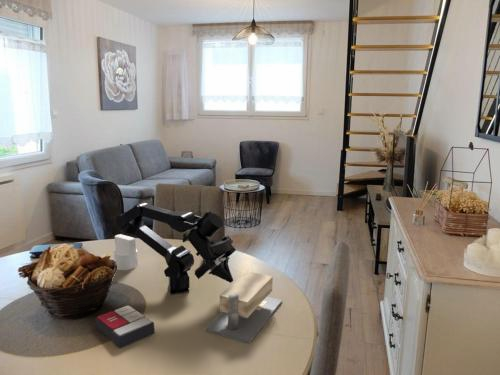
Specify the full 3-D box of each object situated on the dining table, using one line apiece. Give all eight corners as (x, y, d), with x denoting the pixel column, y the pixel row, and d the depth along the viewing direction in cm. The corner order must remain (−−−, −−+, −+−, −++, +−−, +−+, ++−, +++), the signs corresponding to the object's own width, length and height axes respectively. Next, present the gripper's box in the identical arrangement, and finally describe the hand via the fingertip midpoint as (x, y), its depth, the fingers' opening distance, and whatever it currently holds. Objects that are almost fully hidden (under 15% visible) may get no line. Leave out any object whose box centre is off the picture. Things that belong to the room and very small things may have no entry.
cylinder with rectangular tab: (142, 264, 166) (141, 236, 163) (125, 272, 158) (123, 242, 156) (127, 259, 171) (126, 231, 168) (109, 266, 163) (107, 238, 160)
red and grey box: (128, 303, 128) (154, 320, 118) (129, 316, 129) (155, 333, 119) (94, 316, 121) (118, 335, 110) (95, 329, 122) (119, 349, 111)
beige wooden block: (217, 325, 121) (217, 294, 119) (247, 296, 139) (247, 268, 137) (244, 333, 117) (245, 301, 115) (271, 302, 136) (272, 273, 133)
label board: (205, 330, 120) (205, 327, 120) (244, 293, 143) (244, 290, 143) (248, 343, 114) (248, 340, 114) (282, 302, 137) (282, 299, 137)
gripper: (202, 239, 125) (234, 280, 123) (231, 222, 141) (259, 258, 139) (181, 259, 130) (211, 298, 128) (211, 240, 146) (238, 275, 144)
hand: (232, 281), depth 135 cm, fingers closed
